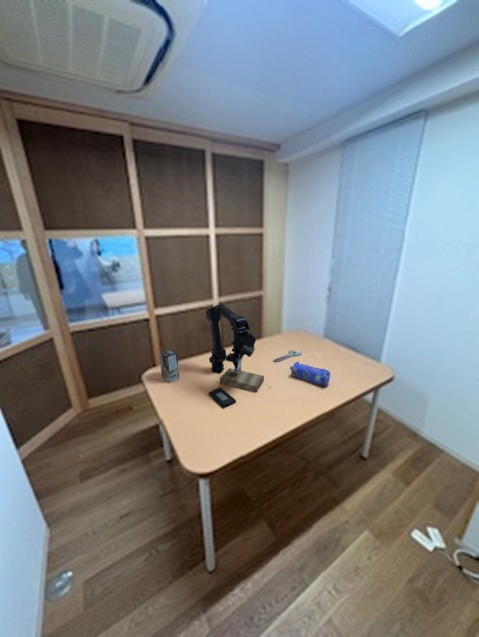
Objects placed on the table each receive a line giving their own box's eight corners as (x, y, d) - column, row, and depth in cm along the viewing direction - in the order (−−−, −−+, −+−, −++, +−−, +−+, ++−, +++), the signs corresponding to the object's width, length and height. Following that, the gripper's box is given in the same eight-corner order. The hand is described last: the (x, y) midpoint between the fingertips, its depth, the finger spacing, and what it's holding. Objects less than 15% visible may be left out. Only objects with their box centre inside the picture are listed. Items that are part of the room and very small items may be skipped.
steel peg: (233, 371, 140) (233, 358, 137) (236, 368, 143) (236, 355, 140) (239, 373, 138) (239, 359, 136) (242, 370, 142) (242, 357, 139)
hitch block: (220, 383, 146) (220, 377, 145) (229, 373, 157) (229, 368, 155) (256, 392, 138) (257, 386, 137) (263, 381, 149) (264, 375, 147)
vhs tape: (220, 390, 140) (220, 387, 140) (236, 403, 129) (236, 400, 129) (208, 395, 136) (208, 392, 135) (223, 409, 125) (223, 405, 124)
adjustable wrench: (267, 358, 177) (267, 355, 176) (296, 350, 189) (296, 347, 189) (275, 364, 170) (275, 361, 169) (304, 355, 183) (304, 352, 182)
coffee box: (179, 378, 150) (177, 353, 145) (170, 383, 145) (167, 357, 140) (170, 373, 156) (168, 348, 151) (161, 377, 151) (159, 352, 146)
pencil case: (288, 377, 153) (290, 363, 150) (294, 371, 160) (295, 357, 157) (326, 389, 141) (328, 374, 138) (330, 382, 148) (332, 367, 145)
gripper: (246, 350, 124) (245, 378, 129) (259, 336, 140) (257, 361, 145) (225, 345, 128) (225, 373, 133) (240, 332, 144) (239, 357, 149)
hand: (237, 366), depth 140 cm, fingers closed on steel peg, 4 cm apart
